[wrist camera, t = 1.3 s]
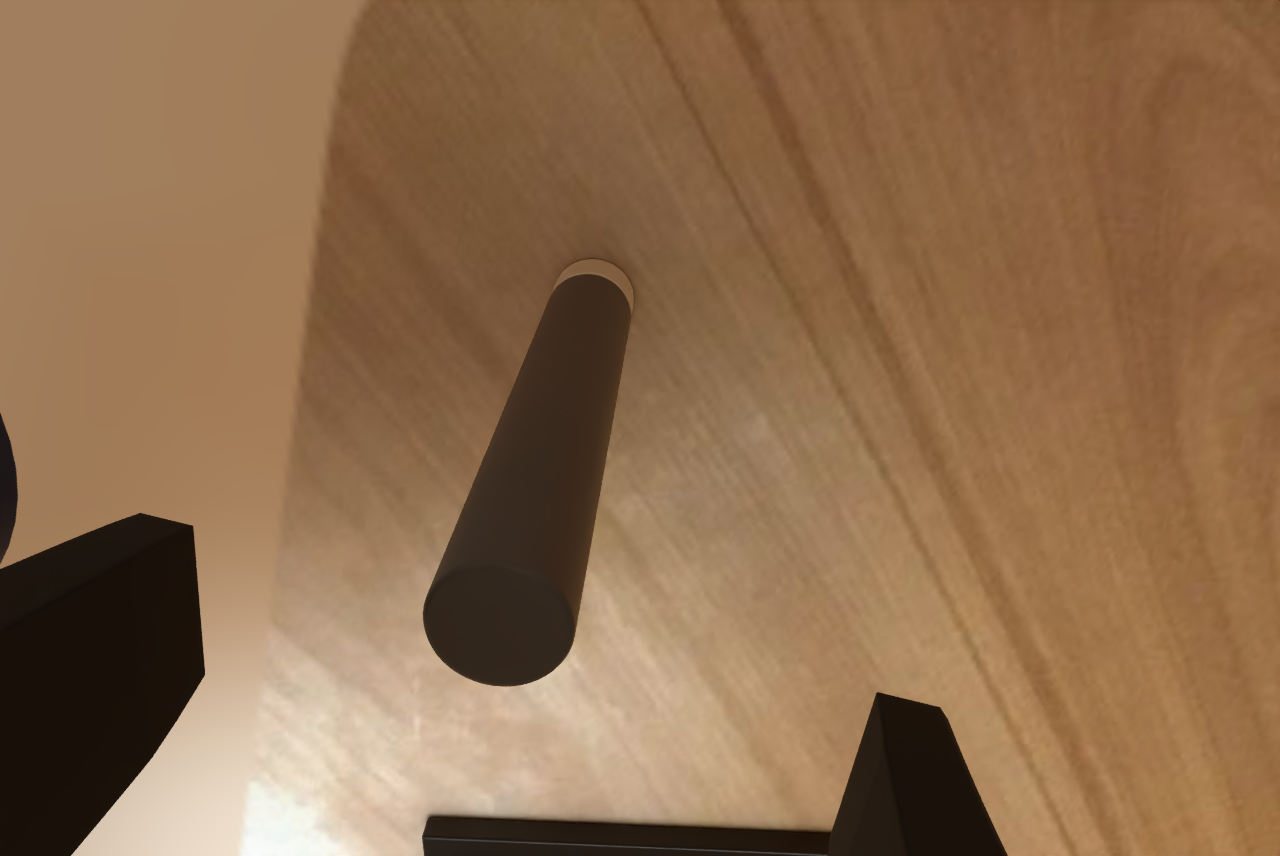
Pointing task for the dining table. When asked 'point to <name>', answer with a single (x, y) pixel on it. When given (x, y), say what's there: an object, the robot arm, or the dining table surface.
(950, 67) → the dining table surface
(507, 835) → the tablet
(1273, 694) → the dining table surface
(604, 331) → the dark brown rod
